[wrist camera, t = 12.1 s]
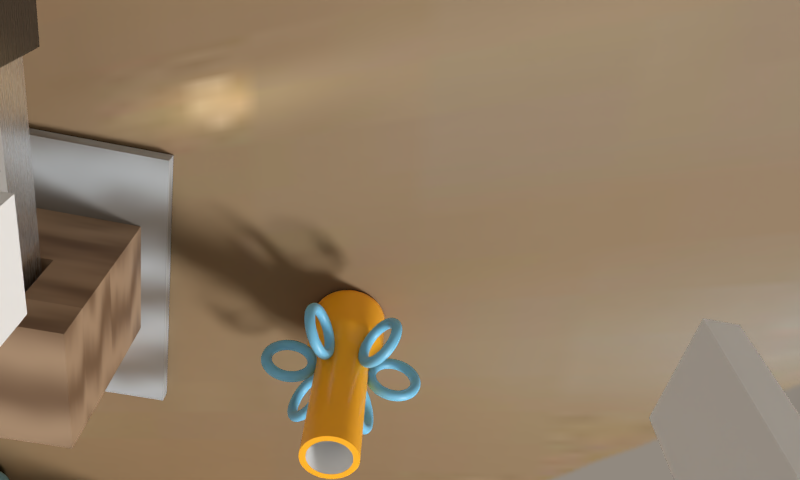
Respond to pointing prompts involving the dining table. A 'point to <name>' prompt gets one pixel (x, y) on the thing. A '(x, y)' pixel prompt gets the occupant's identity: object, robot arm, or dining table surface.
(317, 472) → the cylinder
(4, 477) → the teapot
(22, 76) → the grey mallet
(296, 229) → the dining table surface
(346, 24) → the dining table surface
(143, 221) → the block
